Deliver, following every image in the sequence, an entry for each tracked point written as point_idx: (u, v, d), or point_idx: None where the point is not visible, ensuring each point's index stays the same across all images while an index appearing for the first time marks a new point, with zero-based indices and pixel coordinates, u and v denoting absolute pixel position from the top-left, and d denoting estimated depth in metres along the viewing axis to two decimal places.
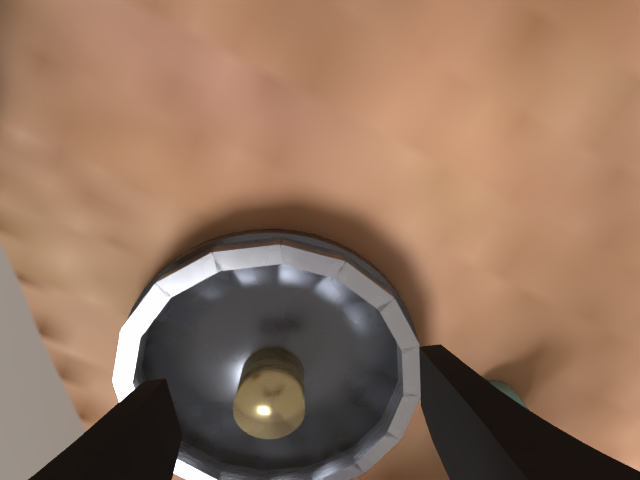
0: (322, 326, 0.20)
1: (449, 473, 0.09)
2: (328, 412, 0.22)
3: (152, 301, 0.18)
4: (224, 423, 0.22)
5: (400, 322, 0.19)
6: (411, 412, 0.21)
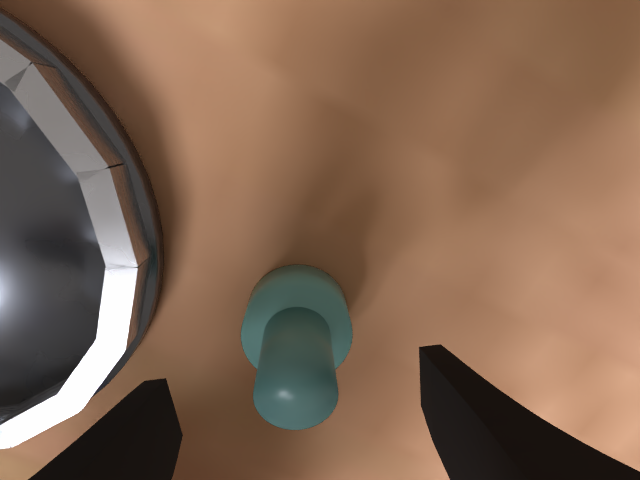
0: None
1: (449, 473, 0.09)
2: (19, 311, 0.14)
3: None
4: None
5: (57, 115, 0.11)
6: (129, 300, 0.12)
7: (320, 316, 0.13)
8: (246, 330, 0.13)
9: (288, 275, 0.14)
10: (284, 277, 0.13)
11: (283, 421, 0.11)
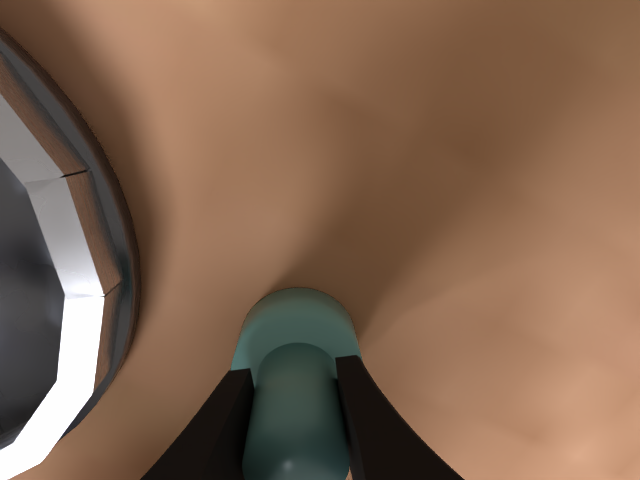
0: None
1: None
2: None
3: None
4: None
5: None
6: (95, 335, 0.10)
7: (325, 353, 0.11)
8: None
9: (287, 302, 0.11)
10: (282, 305, 0.11)
11: None
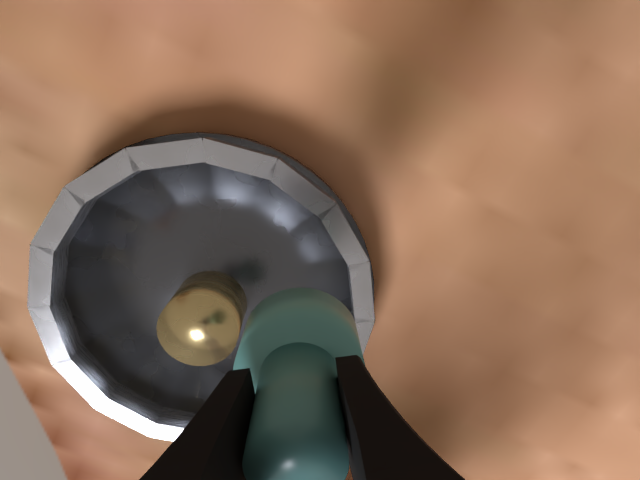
0: (262, 244, 0.18)
1: None
2: None
3: (63, 208, 0.16)
4: (162, 361, 0.20)
5: (344, 232, 0.17)
6: (365, 341, 0.19)
7: (325, 351, 0.11)
8: None
9: (286, 303, 0.11)
10: (282, 306, 0.11)
11: None
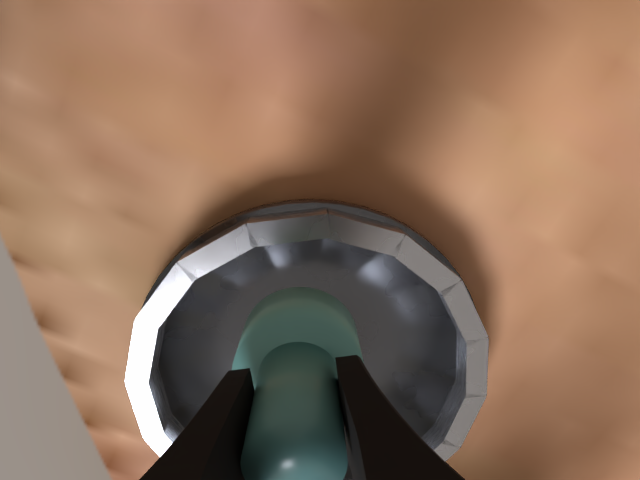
0: (370, 315, 0.17)
1: None
2: None
3: (173, 284, 0.15)
4: None
5: (466, 309, 0.16)
6: (473, 416, 0.18)
7: (324, 351, 0.11)
8: None
9: (285, 302, 0.11)
10: (280, 305, 0.11)
11: None
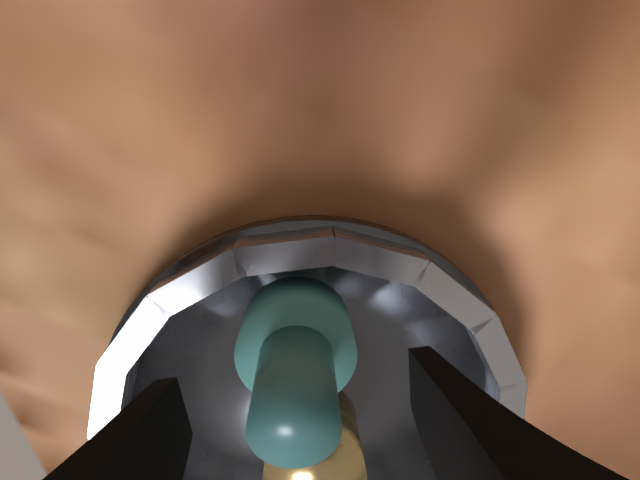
0: (383, 352, 0.14)
1: (437, 474, 0.09)
2: (385, 467, 0.16)
3: (142, 322, 0.12)
4: None
5: (501, 349, 0.13)
6: None
7: (320, 333, 0.12)
8: (240, 353, 0.12)
9: (283, 290, 0.12)
10: (279, 292, 0.12)
11: (282, 460, 0.09)
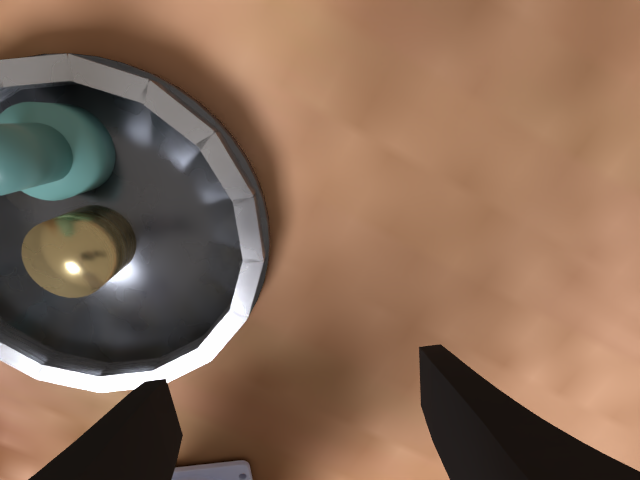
0: (148, 178, 0.18)
1: (449, 473, 0.09)
2: (170, 290, 0.20)
3: None
4: (51, 301, 0.20)
5: (225, 164, 0.17)
6: (255, 283, 0.18)
7: (57, 131, 0.15)
8: None
9: None
10: None
11: None
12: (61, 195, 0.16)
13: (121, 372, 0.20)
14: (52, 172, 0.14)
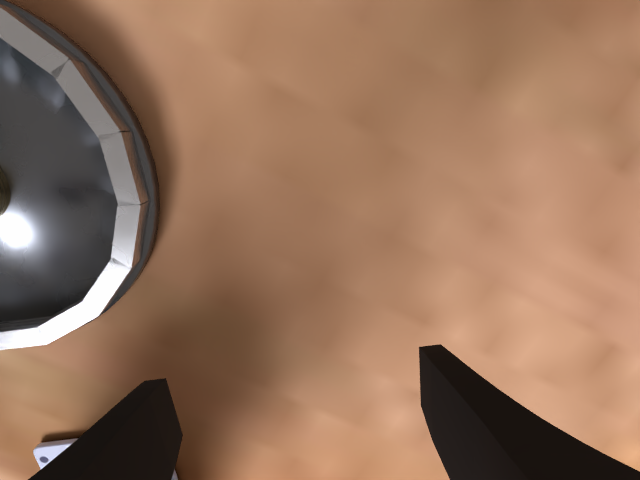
0: (13, 117, 0.17)
1: (449, 473, 0.09)
2: (53, 242, 0.19)
3: None
4: None
5: (85, 95, 0.15)
6: (134, 229, 0.17)
7: None
8: None
9: None
10: None
11: None
12: None
13: (5, 329, 0.19)
14: None
